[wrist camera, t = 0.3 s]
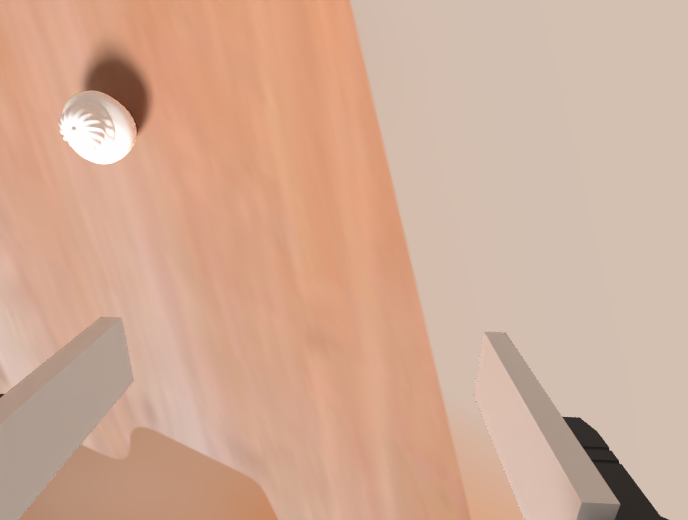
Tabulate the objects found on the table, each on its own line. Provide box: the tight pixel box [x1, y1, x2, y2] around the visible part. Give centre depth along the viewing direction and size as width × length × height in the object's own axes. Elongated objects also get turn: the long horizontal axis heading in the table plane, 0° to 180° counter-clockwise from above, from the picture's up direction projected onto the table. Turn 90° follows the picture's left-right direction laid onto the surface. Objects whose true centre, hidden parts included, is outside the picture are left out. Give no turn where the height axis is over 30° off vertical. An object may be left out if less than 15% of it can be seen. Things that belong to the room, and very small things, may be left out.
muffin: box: [59, 90, 137, 164], centre depth 35 cm, size 6×6×7 cm
